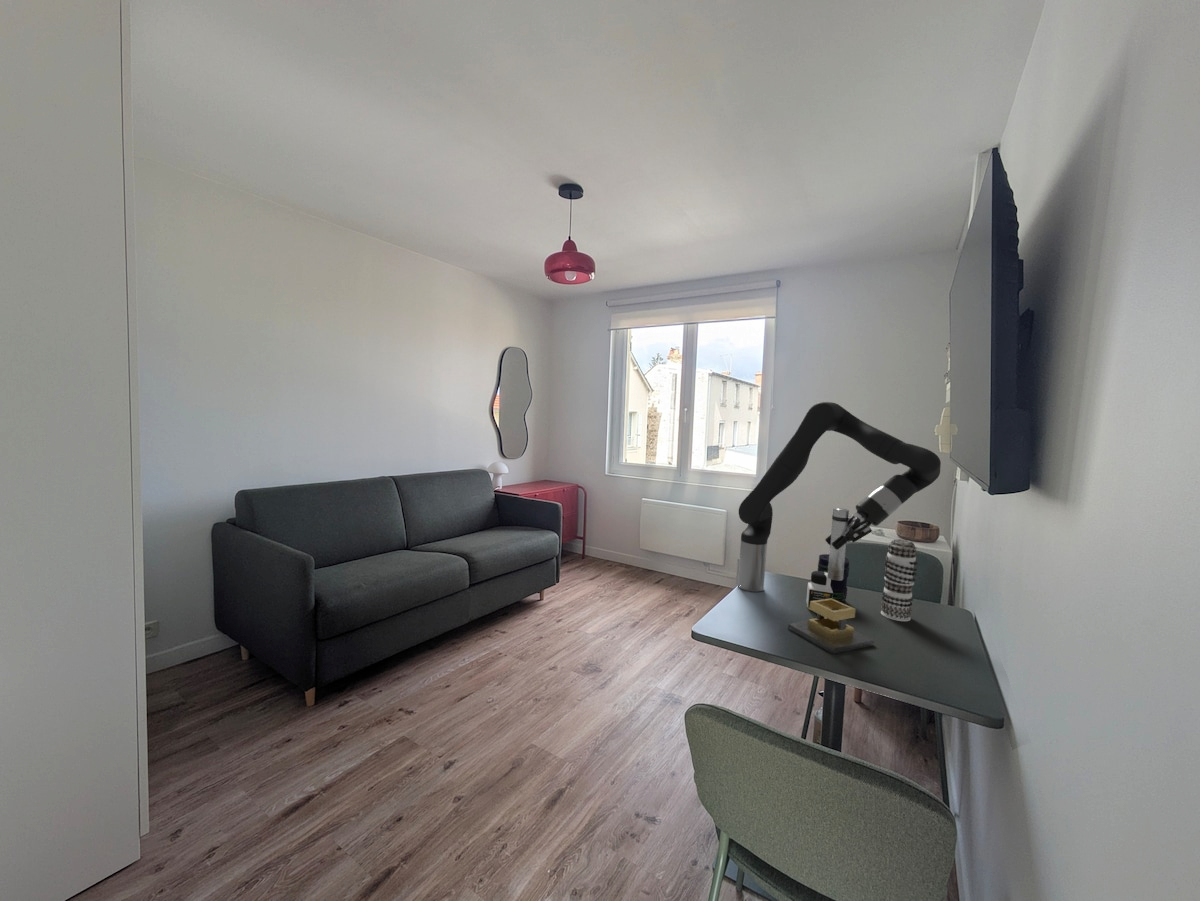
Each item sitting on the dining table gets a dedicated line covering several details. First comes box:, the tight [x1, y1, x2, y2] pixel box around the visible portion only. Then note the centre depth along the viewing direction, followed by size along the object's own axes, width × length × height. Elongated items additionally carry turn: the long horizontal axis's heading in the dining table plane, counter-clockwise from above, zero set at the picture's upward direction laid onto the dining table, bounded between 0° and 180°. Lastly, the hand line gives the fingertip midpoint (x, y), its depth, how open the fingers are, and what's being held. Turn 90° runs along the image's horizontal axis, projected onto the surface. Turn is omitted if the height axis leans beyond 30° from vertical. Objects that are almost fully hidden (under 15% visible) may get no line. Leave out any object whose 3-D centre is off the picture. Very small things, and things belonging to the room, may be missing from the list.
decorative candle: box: [880, 538, 919, 622], centre depth 160 cm, size 9×9×25 cm
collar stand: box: [787, 598, 875, 655], centre depth 142 cm, size 16×16×10 cm
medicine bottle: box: [806, 570, 833, 610], centre depth 165 cm, size 7×7×12 cm
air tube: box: [828, 507, 850, 581], centre depth 141 cm, size 4×4×20 cm
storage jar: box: [817, 553, 850, 605], centre depth 172 cm, size 10×10×15 cm
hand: (831, 544), depth 141 cm, fingers closed on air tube, 4 cm apart
